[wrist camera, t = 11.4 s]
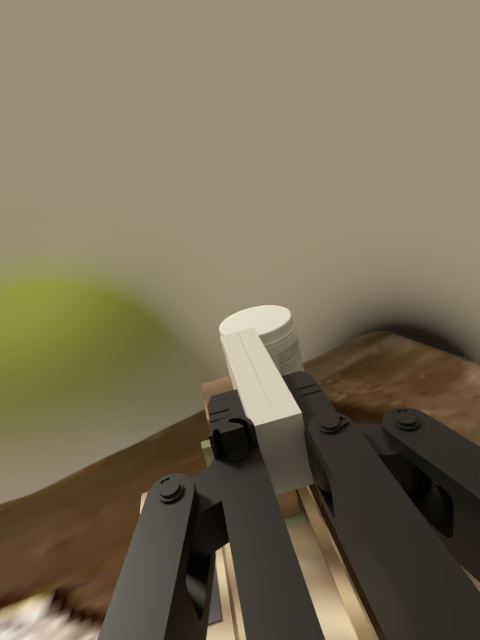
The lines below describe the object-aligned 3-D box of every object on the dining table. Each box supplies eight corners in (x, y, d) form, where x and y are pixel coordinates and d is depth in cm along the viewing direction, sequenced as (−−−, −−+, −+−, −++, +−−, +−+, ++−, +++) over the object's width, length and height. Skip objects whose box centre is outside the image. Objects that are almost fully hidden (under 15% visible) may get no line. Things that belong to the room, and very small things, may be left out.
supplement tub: (296, 388, 58) (279, 298, 53) (323, 424, 50) (307, 320, 44) (234, 407, 57) (211, 317, 52) (251, 448, 48) (226, 344, 43)
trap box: (481, 866, 18) (485, 822, 17) (108, 1021, 17) (66, 992, 15) (292, 451, 46) (285, 417, 44) (145, 495, 45) (132, 461, 43)
